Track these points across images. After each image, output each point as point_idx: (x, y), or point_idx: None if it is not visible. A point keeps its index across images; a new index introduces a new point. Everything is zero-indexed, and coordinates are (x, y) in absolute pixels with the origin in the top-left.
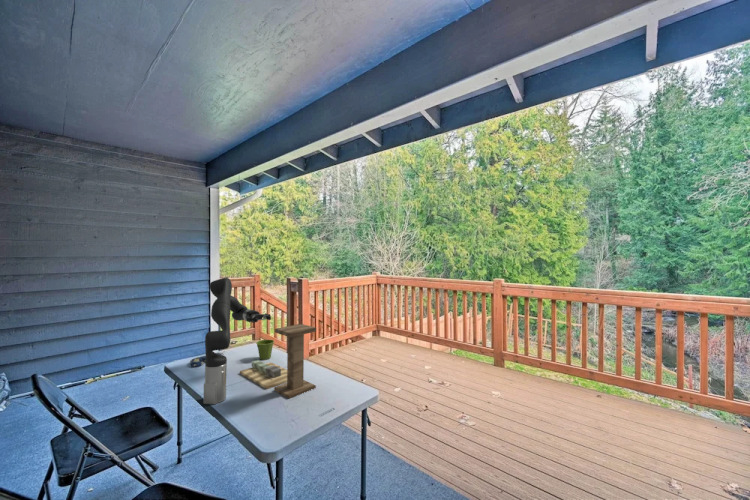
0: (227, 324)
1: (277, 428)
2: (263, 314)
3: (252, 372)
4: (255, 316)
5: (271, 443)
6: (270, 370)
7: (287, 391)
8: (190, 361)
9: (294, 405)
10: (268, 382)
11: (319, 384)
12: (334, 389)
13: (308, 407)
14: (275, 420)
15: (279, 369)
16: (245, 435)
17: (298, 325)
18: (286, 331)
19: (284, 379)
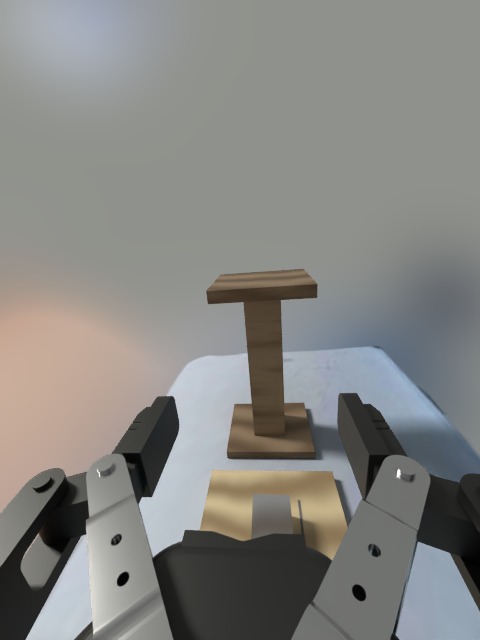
0: None
1: (355, 365)
2: (129, 508)
3: None
4: (324, 562)
5: (369, 353)
6: (291, 515)
7: (297, 417)
8: None
9: (307, 389)
10: (317, 494)
11: (215, 416)
12: (216, 389)
13: (291, 376)
14: (352, 377)
15: (259, 494)
16: (403, 373)
17: (231, 285)
18: (302, 273)
19: (264, 477)
